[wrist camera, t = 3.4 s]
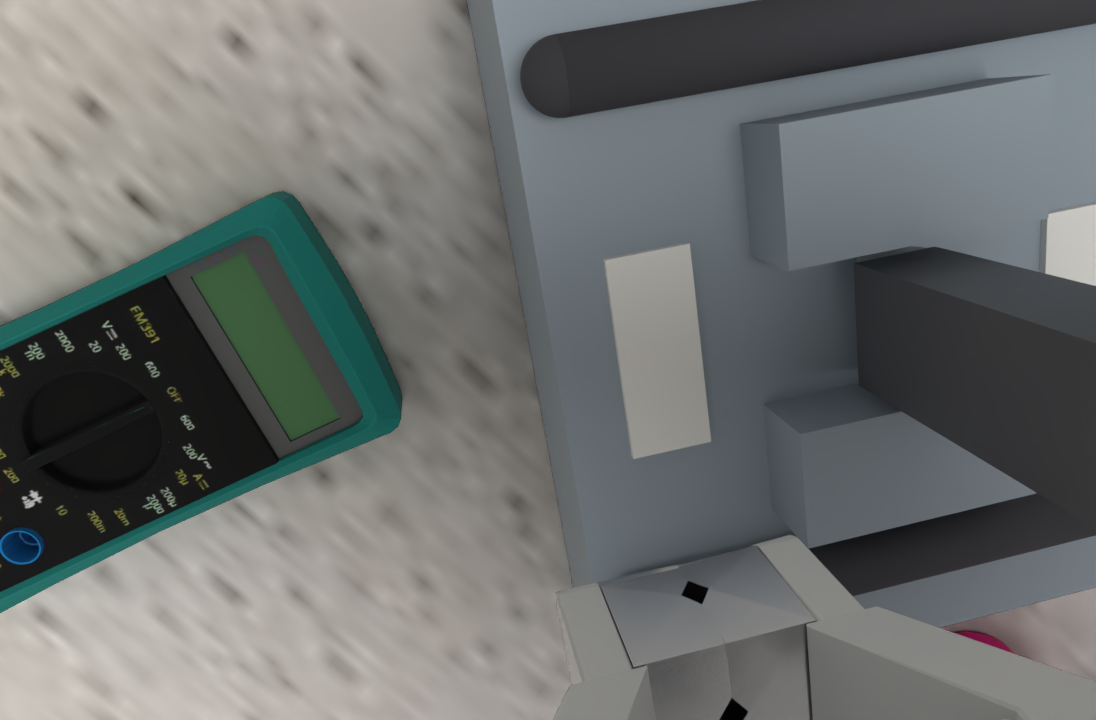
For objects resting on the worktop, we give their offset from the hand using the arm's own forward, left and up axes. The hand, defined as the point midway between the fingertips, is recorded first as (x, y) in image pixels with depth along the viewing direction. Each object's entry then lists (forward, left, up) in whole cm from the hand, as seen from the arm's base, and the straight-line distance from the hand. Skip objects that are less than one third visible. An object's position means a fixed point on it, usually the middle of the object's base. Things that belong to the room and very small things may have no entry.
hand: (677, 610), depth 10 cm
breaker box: (-8, 0, -16) cm, 17 cm away
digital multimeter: (+12, 0, -16) cm, 20 cm away
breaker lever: (-8, 0, -9) cm, 12 cm away
